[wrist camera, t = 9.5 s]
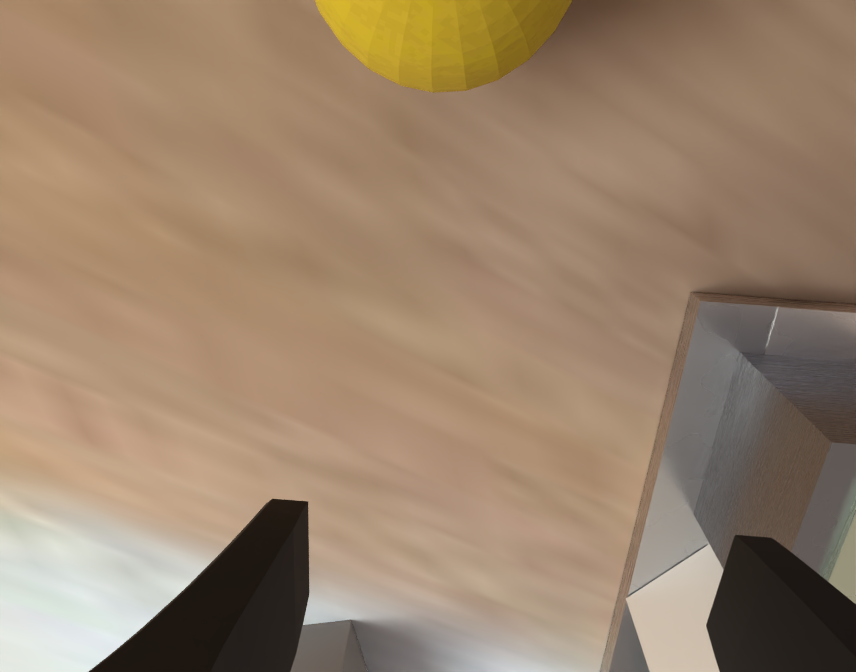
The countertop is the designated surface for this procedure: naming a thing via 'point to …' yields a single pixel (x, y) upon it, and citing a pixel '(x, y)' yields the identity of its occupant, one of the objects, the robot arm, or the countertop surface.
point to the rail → (681, 454)
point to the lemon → (443, 37)
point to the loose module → (678, 615)
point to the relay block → (328, 649)
